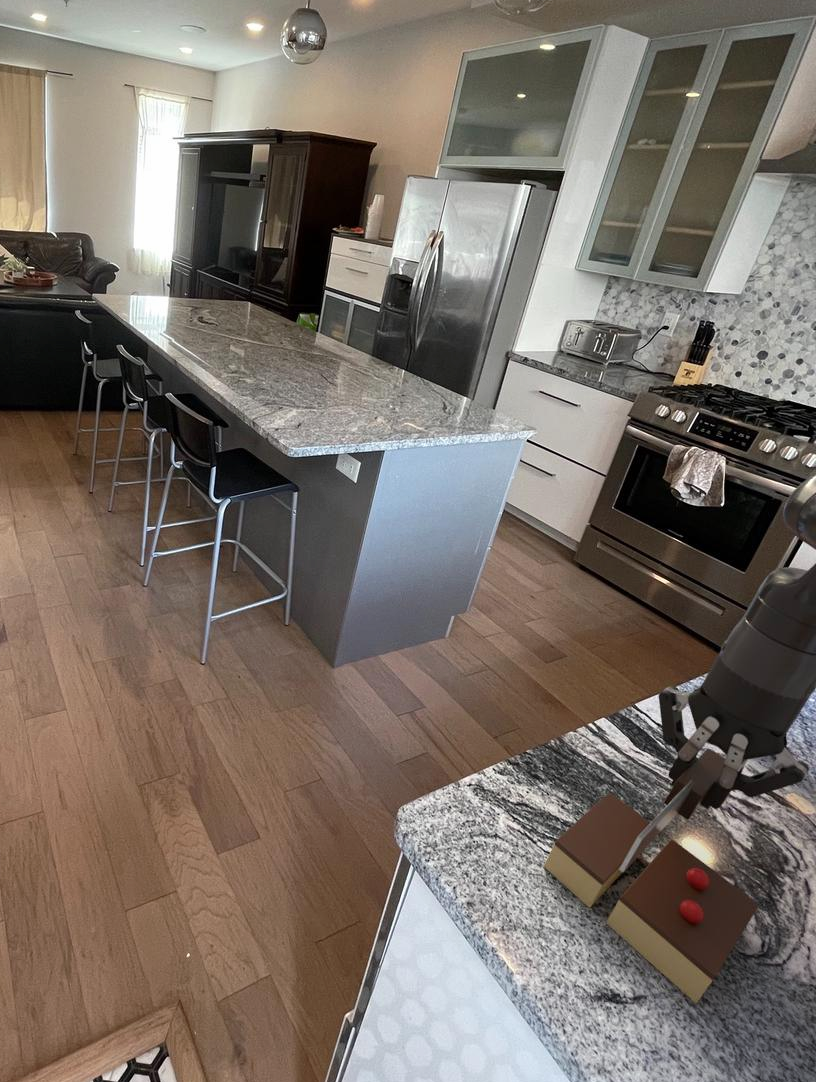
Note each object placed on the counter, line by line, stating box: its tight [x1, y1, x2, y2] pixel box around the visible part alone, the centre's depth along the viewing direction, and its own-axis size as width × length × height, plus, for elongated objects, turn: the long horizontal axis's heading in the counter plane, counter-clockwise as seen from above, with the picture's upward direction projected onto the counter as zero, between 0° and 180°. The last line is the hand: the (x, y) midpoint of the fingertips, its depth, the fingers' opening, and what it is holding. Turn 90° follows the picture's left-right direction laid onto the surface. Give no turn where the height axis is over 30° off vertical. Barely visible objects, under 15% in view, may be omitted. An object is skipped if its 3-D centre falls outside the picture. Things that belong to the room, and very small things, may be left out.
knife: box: [619, 748, 726, 873], centre depth 64 cm, size 22×2×4 cm, turn 126°
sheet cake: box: [605, 838, 760, 1004], centre depth 61 cm, size 12×8×6 cm, turn 126°
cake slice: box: [543, 791, 651, 909], centre depth 67 cm, size 12×5×4 cm, turn 126°
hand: (691, 793), depth 69 cm, fingers closed on knife, 2 cm apart
